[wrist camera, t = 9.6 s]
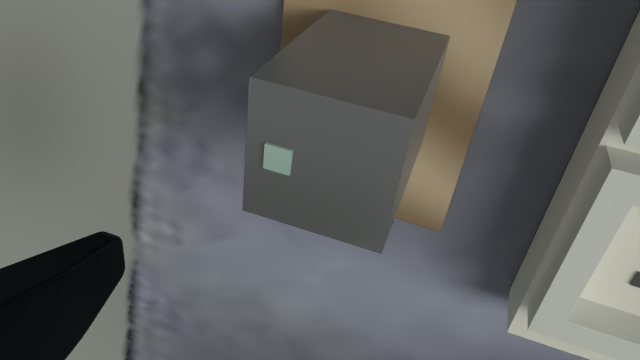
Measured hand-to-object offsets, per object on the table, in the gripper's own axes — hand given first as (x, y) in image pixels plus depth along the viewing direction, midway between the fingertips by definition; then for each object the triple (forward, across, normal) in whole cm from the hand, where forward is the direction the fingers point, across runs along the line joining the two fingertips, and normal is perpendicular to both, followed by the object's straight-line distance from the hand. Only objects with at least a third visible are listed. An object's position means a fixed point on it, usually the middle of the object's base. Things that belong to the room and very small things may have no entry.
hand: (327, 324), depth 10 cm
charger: (+12, +2, 0) cm, 12 cm away
